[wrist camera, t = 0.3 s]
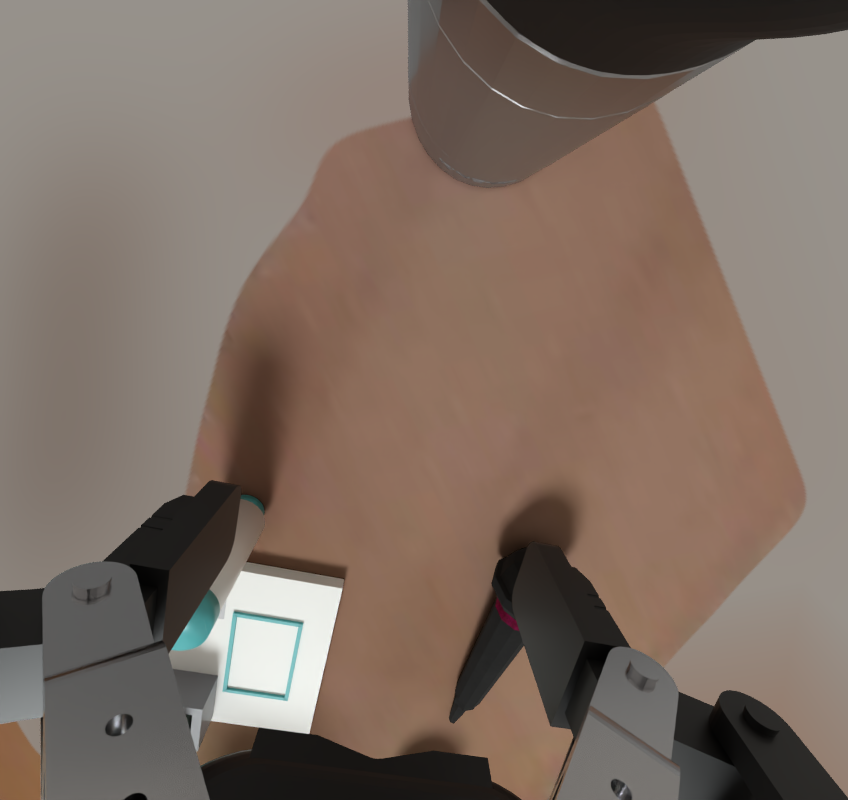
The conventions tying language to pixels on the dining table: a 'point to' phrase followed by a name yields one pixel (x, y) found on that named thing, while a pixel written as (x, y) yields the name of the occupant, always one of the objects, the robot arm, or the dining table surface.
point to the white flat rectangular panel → (268, 647)
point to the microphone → (491, 641)
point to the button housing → (197, 700)
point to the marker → (225, 574)
